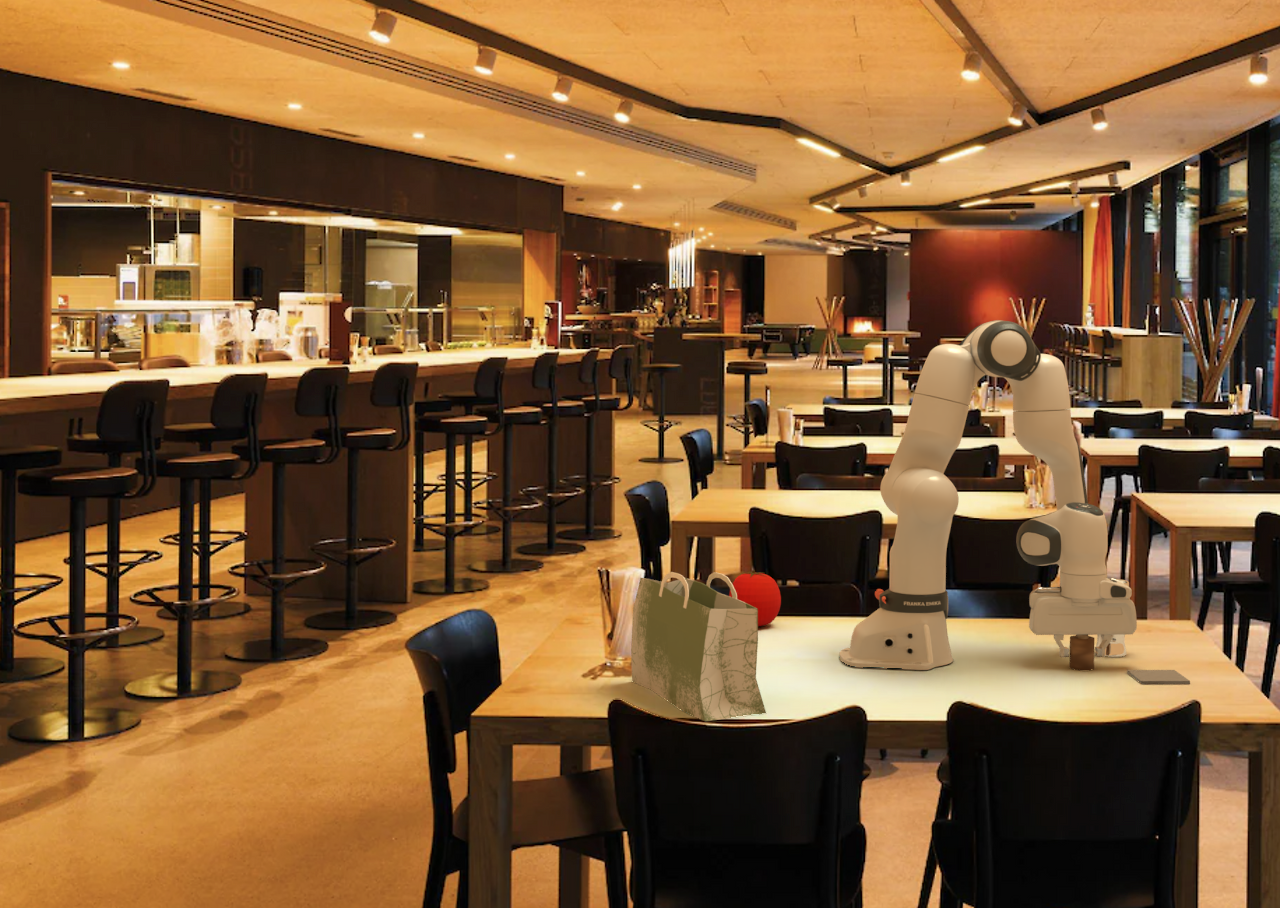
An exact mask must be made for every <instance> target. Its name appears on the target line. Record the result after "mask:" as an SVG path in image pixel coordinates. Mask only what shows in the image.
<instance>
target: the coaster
mask: <svg viewBox="0 0 1280 908" xmlns="http://www.w3.org/2000/svg"><path fill="white" fill-rule="evenodd" d="M1126 674H1128V675H1129V674H1130V675H1131V676H1132V677H1131V676H1130V675H1129V676H1130V677H1131V678H1133V677H1134V678H1135V679H1136V680H1135V679H1134V678H1133V679H1134V680H1135V681H1137V682H1138V681H1139V682H1140V683H1141V684H1140V683H1139V682H1138V683H1139V684H1140V685H1190V684H1191V681H1190V680H1189V679H1188V678H1187V677H1185V676H1184V675H1182V674H1181V673H1179V672H1178V671H1176V670H1175V669H1127V670H1126Z"/></svg>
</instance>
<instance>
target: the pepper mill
mask: <svg viewBox="0 0 1280 908" xmlns="http://www.w3.org/2000/svg"><path fill="white" fill-rule="evenodd" d="M1068 665H1069V667H1070V668H1069V669H1071V670H1074V669H1075V670H1074V671H1080V670H1089V671H1092V670H1091V669H1093V670H1094V669H1095V637H1094V636H1090V635H1070V636H1069V664H1068Z"/></svg>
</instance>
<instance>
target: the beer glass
mask: <svg viewBox="0 0 1280 908" xmlns="http://www.w3.org/2000/svg"><path fill="white" fill-rule="evenodd" d="M1112 579H1113V580H1115V581H1118V582H1121V583H1123V584H1125V585H1127V586H1129V587H1130V583H1129V581H1128V580H1126V579H1120V578H1112ZM1130 598H1131V597H1130ZM1130 598H1129V599H1130ZM1130 600H1131V599H1130ZM1096 636H1097V639H1096V645H1095V647H1099V646H1100V644H1101V642H1102V641H1103V639H1102V638H1101V635H1096ZM1125 636H1126V635H1111V641H1110V642H1109V644H1108V646H1107V647H1106V649H1105V656H1108V657H1107V658H1123V657H1126V656H1127V649H1126V642H1125V640H1126V639H1125ZM1095 652H1096V651H1095V650H1094V653H1095ZM1125 655H1126V656H1125ZM1122 656H1123V657H1122Z"/></svg>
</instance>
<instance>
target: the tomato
mask: <svg viewBox="0 0 1280 908" xmlns="http://www.w3.org/2000/svg"><path fill="white" fill-rule="evenodd" d="M732 584H733V586H734V589H735V591H736V593H737V599H738V600H740V601H743V602H745V603H747V604H749V605H751V606H753V607H755V608H757V609H758V627H763V626H767V625H769V624H771V623H773V621H775V619H776V618H777V616H778V614H779V612H780V609H781V605H782V595H781V591H780V588H779V586H778V583H777V581H776V580H775V579H774V578H772V577H771V576H770V575H768V574H765V572H763V571H762V572H756V570H754V569H753V570H752V571H749V572H744V573H740V574H738V576H737V577H735V579H734V581H732ZM728 596H730V597H732V594H731V590H730V589H729V594H728Z"/></svg>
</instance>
